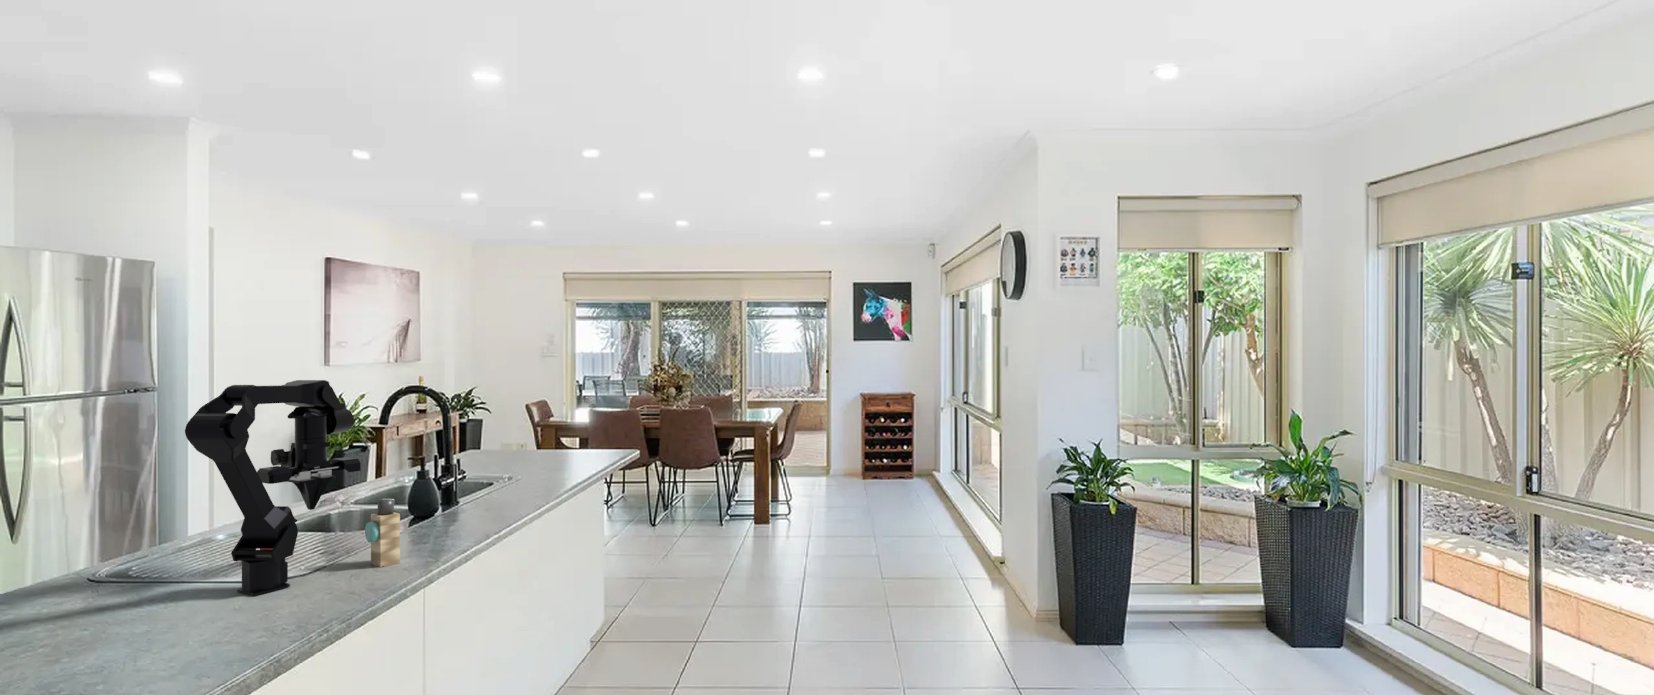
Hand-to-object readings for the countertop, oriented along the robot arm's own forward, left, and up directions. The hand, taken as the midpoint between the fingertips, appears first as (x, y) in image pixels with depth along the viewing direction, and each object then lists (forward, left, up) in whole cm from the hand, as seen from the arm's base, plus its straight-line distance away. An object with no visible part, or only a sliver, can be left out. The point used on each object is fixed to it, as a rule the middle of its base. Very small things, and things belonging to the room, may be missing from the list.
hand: (311, 509), depth 161 cm
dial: (+10, -10, -2) cm, 14 cm away
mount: (+10, -10, -13) cm, 19 cm away
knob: (+10, -10, -8) cm, 16 cm away
